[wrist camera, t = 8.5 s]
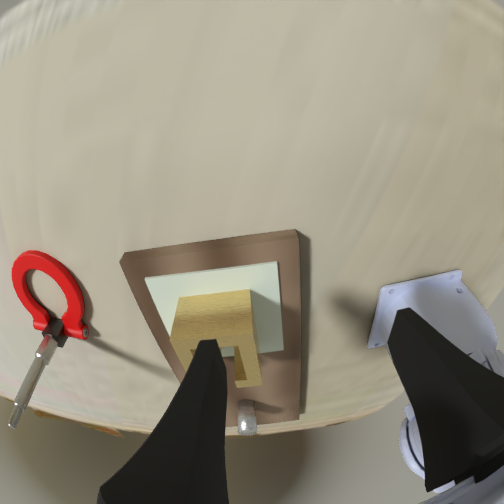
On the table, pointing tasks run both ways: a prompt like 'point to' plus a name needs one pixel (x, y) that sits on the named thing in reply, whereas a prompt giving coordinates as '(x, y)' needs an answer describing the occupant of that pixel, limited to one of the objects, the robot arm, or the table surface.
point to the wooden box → (220, 331)
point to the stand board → (272, 363)
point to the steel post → (246, 417)
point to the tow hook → (46, 319)
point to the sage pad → (225, 280)
